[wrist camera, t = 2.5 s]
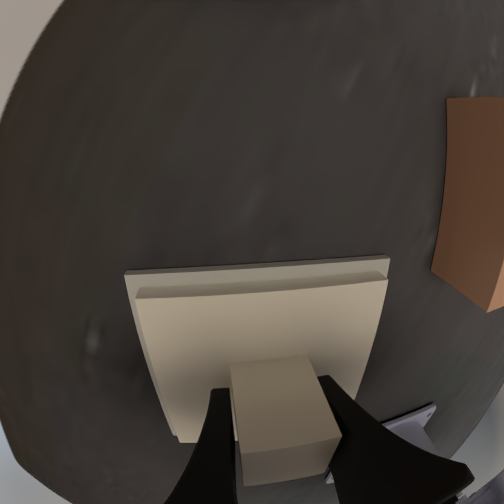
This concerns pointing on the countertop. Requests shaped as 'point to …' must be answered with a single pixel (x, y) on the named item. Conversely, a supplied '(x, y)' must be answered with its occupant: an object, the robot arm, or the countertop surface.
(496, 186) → the dish
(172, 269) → the mat
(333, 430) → the lid
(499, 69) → the countertop surface
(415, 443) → the robot arm
